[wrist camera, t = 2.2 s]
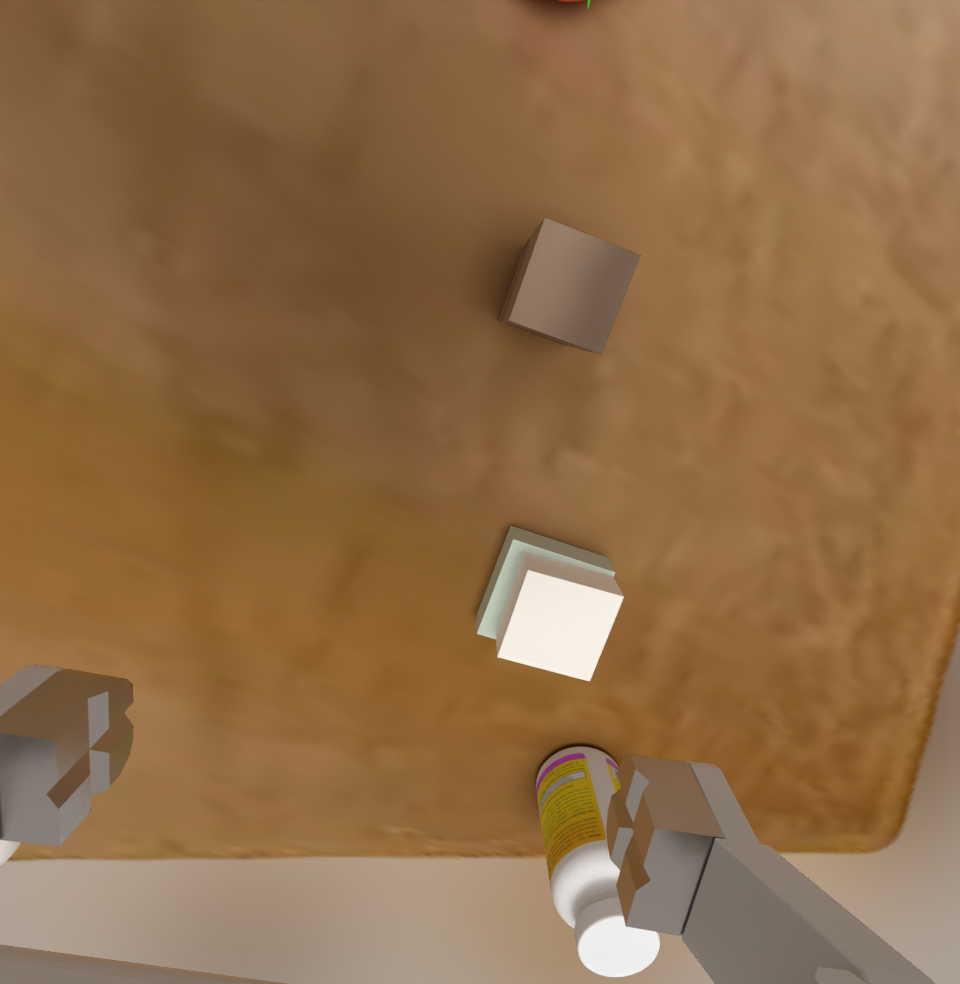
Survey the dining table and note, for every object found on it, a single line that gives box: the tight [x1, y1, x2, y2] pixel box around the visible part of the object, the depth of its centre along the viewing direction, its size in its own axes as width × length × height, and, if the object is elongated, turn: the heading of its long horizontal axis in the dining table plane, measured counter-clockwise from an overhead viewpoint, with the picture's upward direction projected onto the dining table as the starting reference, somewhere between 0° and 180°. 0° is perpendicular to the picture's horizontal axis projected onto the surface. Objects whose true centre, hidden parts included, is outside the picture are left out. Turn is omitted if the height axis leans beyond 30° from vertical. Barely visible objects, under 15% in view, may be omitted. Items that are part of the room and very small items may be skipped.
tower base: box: [477, 526, 616, 639], centre depth 40 cm, size 7×7×3 cm
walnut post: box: [499, 218, 641, 354], centre depth 31 cm, size 4×4×10 cm
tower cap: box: [496, 551, 624, 681], centre depth 37 cm, size 6×6×3 cm
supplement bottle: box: [536, 747, 660, 977], centre depth 40 cm, size 7×7×13 cm
